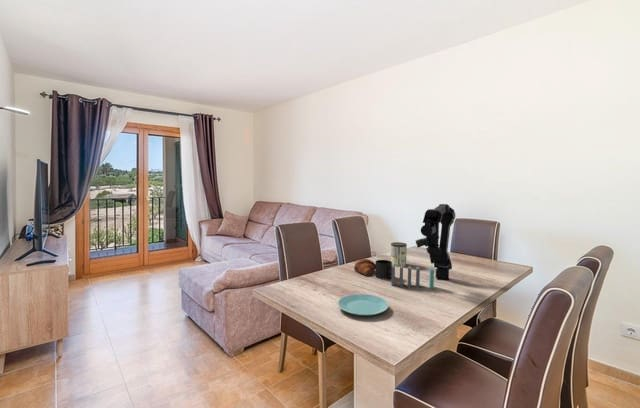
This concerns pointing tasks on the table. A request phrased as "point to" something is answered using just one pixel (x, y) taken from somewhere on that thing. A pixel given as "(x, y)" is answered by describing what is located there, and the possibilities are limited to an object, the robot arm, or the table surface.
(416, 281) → the domino
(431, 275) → the domino
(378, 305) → the plate
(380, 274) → the mug
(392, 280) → the domino
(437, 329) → the table surface
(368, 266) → the pastry
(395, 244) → the coffee can
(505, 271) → the table surface
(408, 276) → the domino
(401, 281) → the domino
